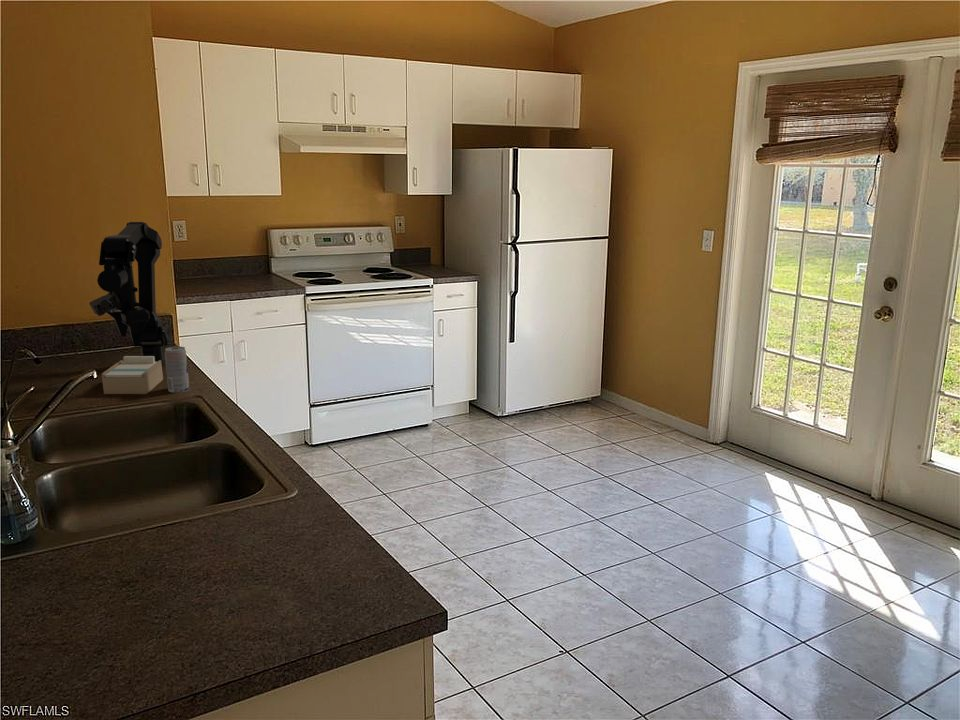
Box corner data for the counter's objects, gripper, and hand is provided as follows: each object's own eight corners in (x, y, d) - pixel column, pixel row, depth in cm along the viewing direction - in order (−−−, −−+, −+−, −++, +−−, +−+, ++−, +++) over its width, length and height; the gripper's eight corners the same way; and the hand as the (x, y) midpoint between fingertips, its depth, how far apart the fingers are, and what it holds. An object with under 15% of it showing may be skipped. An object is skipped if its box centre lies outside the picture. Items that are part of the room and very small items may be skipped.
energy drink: (188, 387, 213) (184, 345, 209) (190, 393, 208) (187, 350, 205) (167, 390, 210) (163, 347, 207) (169, 395, 206) (165, 352, 202)
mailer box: (123, 381, 217) (120, 360, 215) (163, 381, 218) (161, 360, 216) (104, 396, 205) (101, 373, 203) (146, 395, 205) (144, 373, 204)
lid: (124, 364, 216) (123, 355, 215) (158, 364, 216) (157, 355, 216) (105, 377, 203) (104, 368, 203) (141, 377, 204) (140, 368, 203)
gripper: (79, 282, 208) (87, 337, 213) (102, 294, 195) (110, 353, 200) (122, 277, 215) (128, 331, 220) (147, 288, 202) (153, 345, 207)
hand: (129, 340), depth 211 cm, fingers open, 9 cm apart
